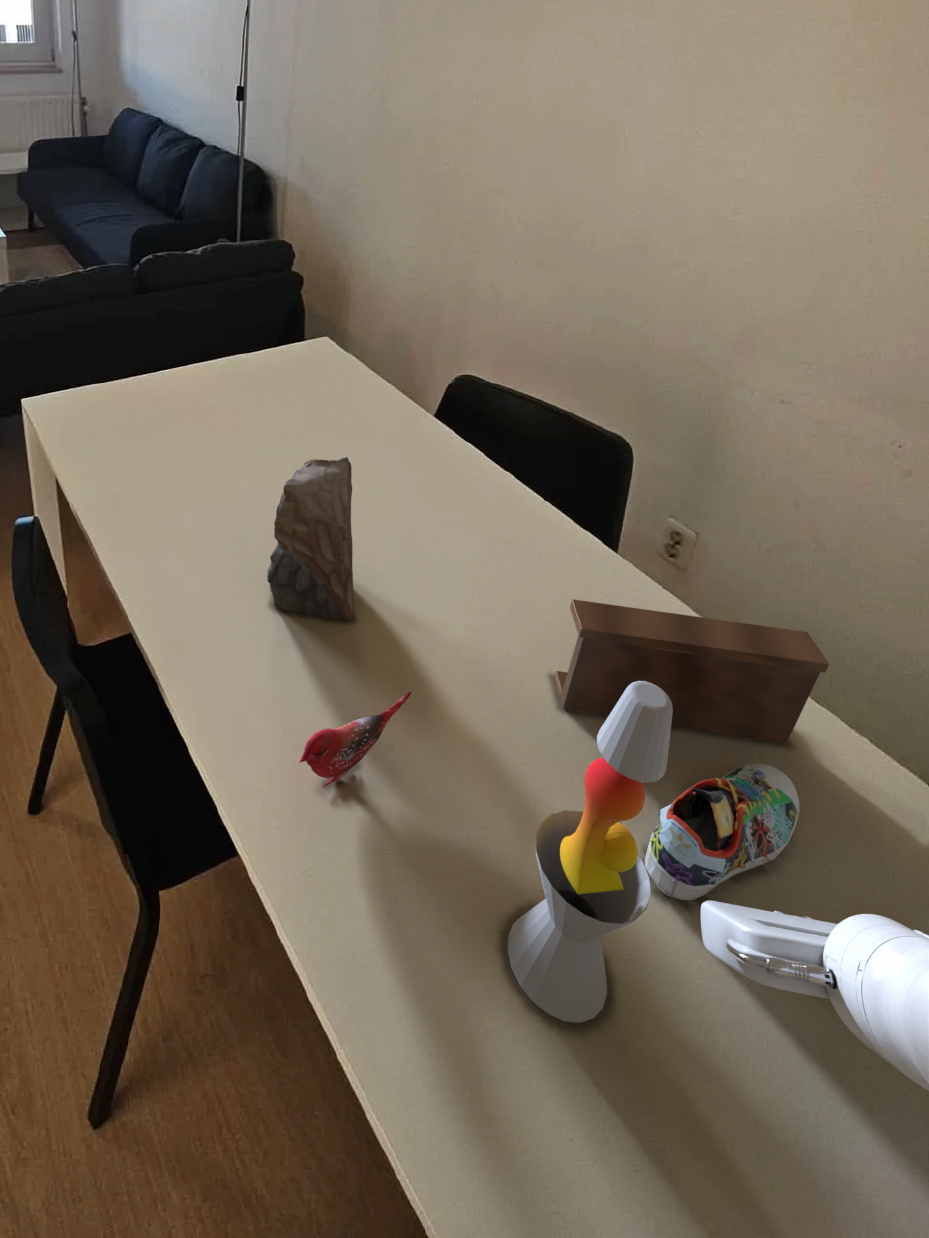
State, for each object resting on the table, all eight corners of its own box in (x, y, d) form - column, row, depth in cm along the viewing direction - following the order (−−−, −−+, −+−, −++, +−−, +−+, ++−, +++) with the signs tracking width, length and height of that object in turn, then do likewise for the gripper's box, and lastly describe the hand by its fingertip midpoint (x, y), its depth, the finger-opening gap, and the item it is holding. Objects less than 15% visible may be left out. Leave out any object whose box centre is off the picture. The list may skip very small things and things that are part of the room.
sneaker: (814, 826, 83) (846, 766, 79) (694, 931, 73) (723, 869, 69) (744, 767, 89) (770, 709, 85) (625, 857, 79) (648, 796, 75)
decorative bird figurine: (286, 799, 84) (291, 737, 80) (397, 718, 93) (406, 659, 89) (303, 821, 82) (309, 758, 78) (414, 736, 91) (425, 676, 87)
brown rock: (264, 610, 109) (271, 496, 101) (273, 550, 120) (281, 444, 112) (352, 623, 107) (367, 508, 99) (354, 561, 119) (367, 454, 111)
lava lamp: (532, 1030, 66) (628, 756, 52) (489, 913, 74) (563, 649, 60) (630, 1019, 67) (750, 747, 53) (577, 905, 75) (669, 643, 61)
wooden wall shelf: (772, 710, 96) (807, 631, 91) (791, 744, 92) (829, 664, 87) (550, 676, 100) (571, 598, 95) (558, 708, 96) (581, 628, 90)
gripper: (753, 1016, 56) (671, 942, 69) (1066, 1080, 53) (920, 991, 66) (744, 914, 59) (666, 860, 71) (1044, 970, 56) (907, 904, 69)
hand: (790, 924), depth 69 cm, fingers closed
